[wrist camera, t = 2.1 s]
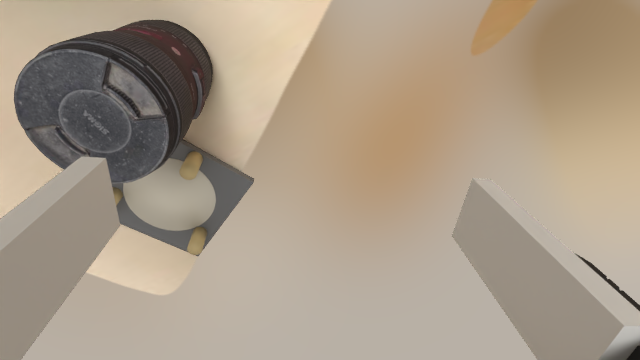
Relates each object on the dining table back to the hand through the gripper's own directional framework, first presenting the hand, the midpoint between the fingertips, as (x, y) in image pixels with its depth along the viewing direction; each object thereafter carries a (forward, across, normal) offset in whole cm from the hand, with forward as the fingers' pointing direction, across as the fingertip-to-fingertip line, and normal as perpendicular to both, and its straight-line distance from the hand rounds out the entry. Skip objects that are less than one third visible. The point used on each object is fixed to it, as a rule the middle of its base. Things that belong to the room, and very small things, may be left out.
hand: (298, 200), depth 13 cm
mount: (+23, -12, -14) cm, 30 cm away
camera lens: (+23, -11, 0) cm, 25 cm away
